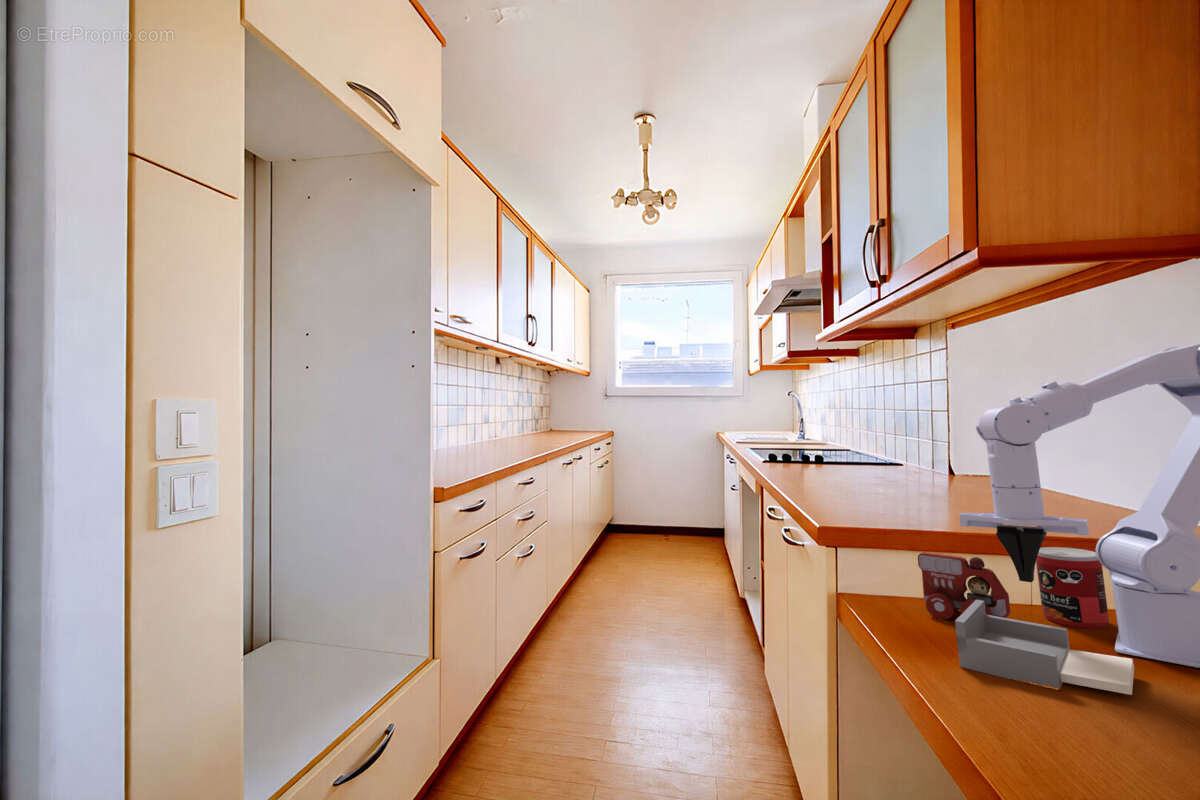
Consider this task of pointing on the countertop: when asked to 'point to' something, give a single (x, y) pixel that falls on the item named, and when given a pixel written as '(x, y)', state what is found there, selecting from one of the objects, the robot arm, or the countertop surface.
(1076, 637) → the countertop surface
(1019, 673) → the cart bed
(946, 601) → the toy fire truck
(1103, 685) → the panel
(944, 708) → the countertop surface
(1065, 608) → the canned food
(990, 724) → the countertop surface
